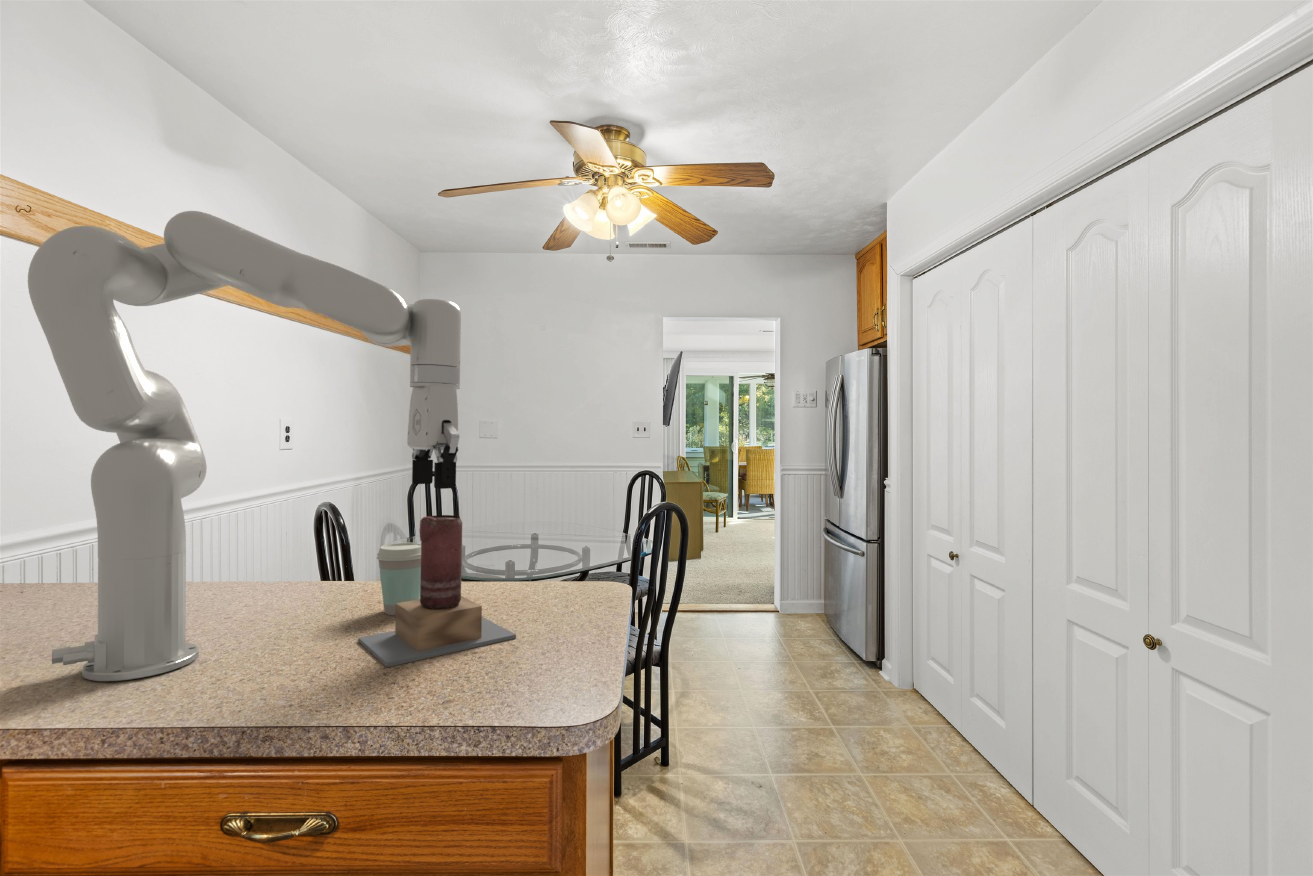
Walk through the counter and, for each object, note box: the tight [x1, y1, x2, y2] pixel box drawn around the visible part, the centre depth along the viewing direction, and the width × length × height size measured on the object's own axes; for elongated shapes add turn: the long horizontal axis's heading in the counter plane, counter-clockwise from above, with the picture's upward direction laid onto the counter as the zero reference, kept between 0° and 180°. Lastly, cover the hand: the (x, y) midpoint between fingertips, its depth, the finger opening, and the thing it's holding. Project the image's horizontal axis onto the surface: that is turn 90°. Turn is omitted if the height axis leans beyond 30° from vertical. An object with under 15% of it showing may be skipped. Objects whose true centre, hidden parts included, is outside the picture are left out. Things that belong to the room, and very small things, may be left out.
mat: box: [357, 616, 517, 668], centre depth 100 cm, size 20×14×1 cm
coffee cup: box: [376, 542, 421, 616], centre depth 115 cm, size 9×9×12 cm
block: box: [394, 595, 483, 651], centre depth 100 cm, size 10×10×5 cm
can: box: [419, 514, 463, 609], centre depth 99 cm, size 6×6×14 cm
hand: (433, 485), depth 100 cm, fingers open, 9 cm apart
